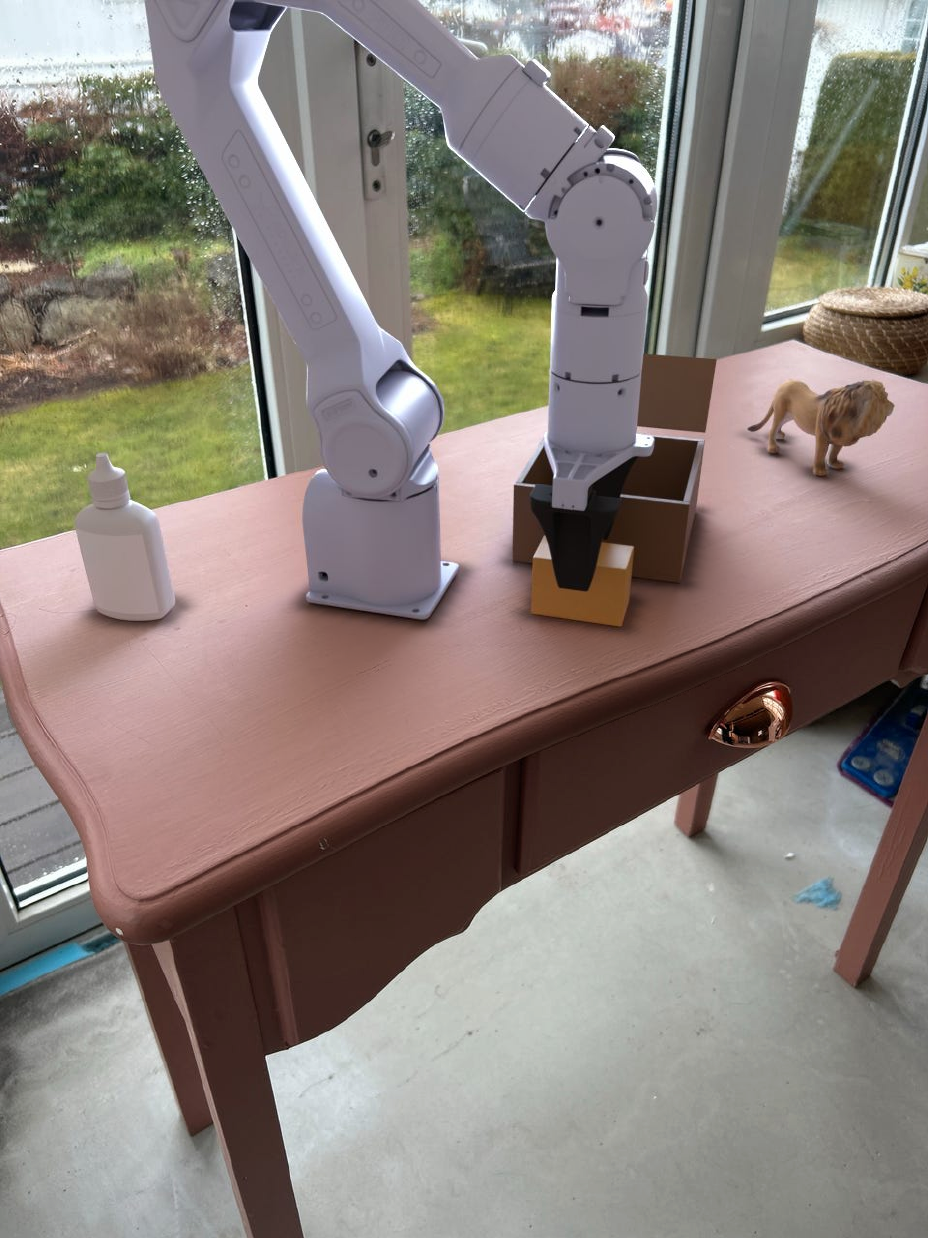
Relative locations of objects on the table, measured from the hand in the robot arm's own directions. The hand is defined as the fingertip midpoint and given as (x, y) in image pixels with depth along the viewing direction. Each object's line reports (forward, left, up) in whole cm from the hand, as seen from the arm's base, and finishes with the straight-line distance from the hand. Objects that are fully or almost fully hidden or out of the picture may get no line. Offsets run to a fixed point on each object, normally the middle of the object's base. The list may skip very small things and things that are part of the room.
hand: (584, 560), depth 67 cm
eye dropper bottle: (-31, -9, -4) cm, 33 cm away
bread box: (0, +12, -4) cm, 13 cm away
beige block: (0, 0, -4) cm, 4 cm away
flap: (0, +20, +6) cm, 21 cm away
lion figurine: (+16, +33, -4) cm, 37 cm away
